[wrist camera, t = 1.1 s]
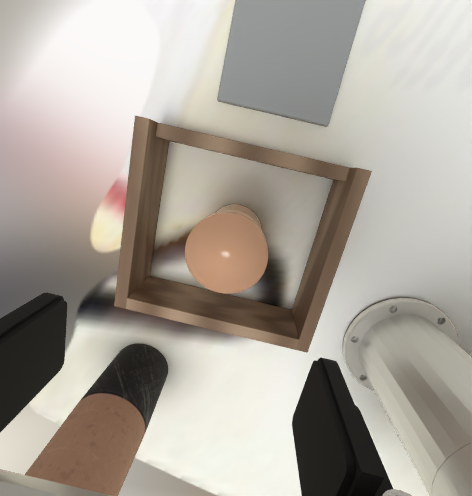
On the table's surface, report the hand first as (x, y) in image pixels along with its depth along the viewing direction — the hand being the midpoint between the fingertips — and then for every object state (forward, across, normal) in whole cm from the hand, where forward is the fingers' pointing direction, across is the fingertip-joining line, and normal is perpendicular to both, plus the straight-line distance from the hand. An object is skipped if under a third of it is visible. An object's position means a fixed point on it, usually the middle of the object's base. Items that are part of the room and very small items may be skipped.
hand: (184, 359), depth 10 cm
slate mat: (+22, -1, -18) cm, 28 cm away
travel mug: (+22, +8, +21) cm, 32 cm away
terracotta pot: (+22, 0, 0) cm, 22 cm away
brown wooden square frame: (+22, 0, 0) cm, 22 cm away
